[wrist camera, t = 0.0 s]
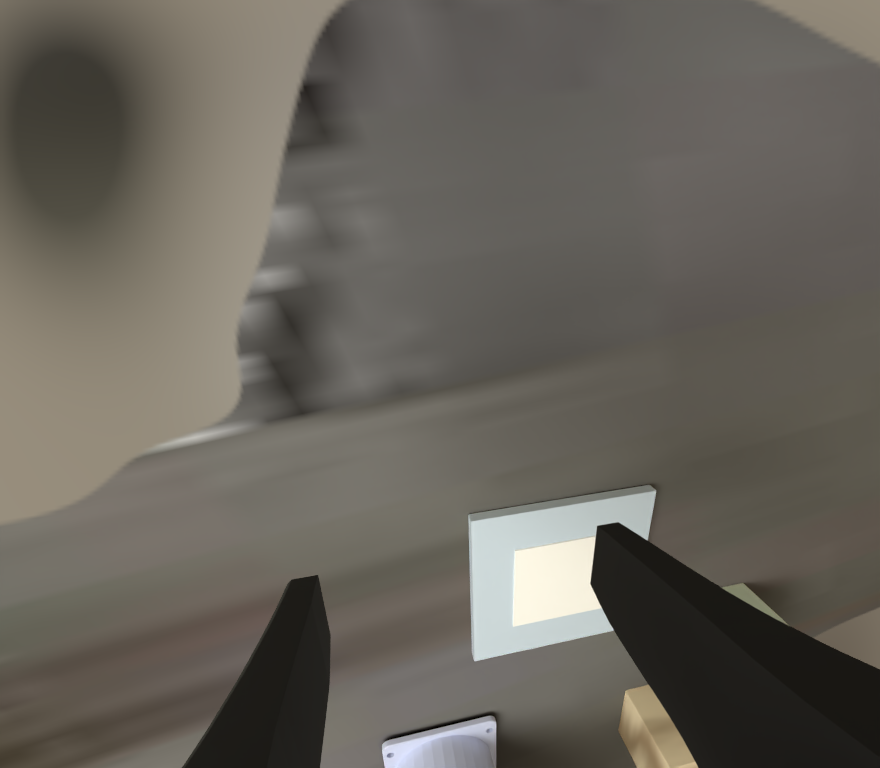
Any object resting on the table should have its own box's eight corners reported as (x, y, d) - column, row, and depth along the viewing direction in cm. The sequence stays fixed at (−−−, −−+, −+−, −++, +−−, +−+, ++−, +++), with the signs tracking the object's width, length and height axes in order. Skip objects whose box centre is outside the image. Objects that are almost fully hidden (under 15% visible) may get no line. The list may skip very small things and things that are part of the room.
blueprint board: (626, 618, 28) (633, 627, 27) (471, 652, 26) (474, 662, 26) (649, 484, 24) (657, 491, 23) (468, 514, 22) (471, 522, 22)
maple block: (672, 715, 34) (721, 791, 29) (617, 729, 33) (658, 810, 29) (683, 675, 32) (737, 749, 28) (624, 689, 31) (670, 768, 27)
